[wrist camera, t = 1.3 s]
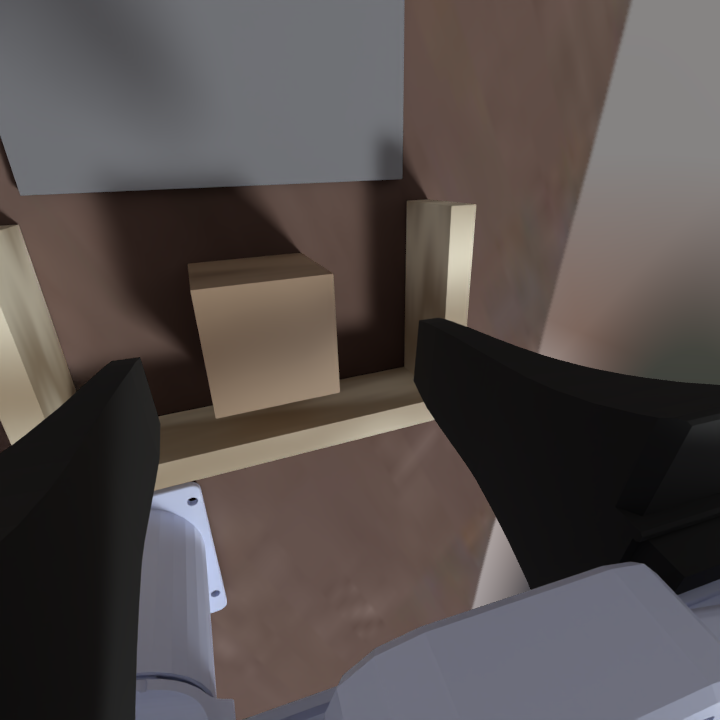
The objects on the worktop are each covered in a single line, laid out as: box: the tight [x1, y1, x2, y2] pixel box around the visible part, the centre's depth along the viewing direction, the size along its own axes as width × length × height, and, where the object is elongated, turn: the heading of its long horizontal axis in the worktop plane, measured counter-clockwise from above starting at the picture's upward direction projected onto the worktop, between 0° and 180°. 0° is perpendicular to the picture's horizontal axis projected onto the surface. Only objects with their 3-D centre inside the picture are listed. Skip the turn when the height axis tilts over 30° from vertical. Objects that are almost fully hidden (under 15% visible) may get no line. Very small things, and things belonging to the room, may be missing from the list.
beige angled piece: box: [0, 199, 476, 491], centre depth 19 cm, size 10×18×4 cm, turn 92°
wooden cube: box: [188, 253, 340, 419], centre depth 18 cm, size 5×5×5 cm
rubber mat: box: [0, 0, 404, 196], centre depth 16 cm, size 10×15×1 cm, turn 92°
